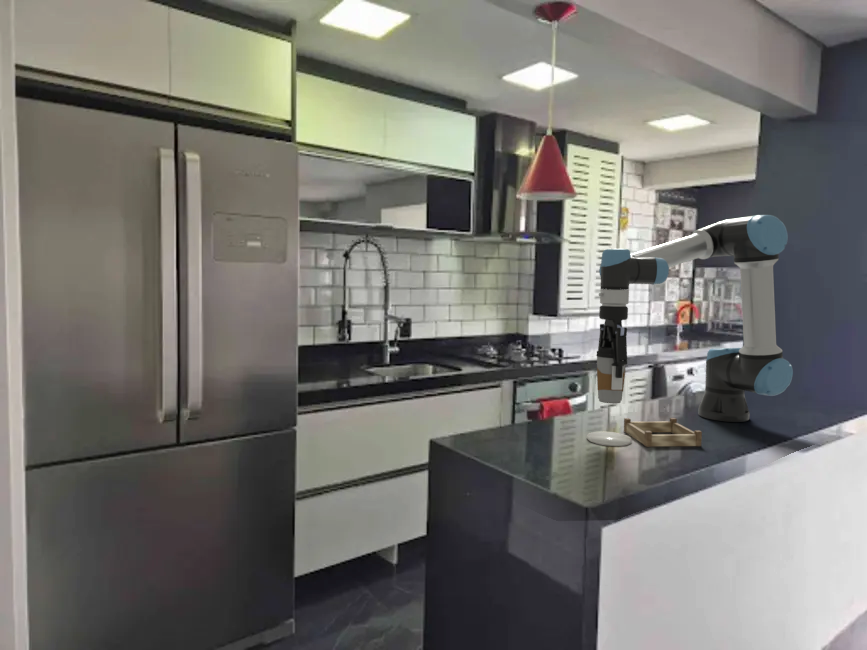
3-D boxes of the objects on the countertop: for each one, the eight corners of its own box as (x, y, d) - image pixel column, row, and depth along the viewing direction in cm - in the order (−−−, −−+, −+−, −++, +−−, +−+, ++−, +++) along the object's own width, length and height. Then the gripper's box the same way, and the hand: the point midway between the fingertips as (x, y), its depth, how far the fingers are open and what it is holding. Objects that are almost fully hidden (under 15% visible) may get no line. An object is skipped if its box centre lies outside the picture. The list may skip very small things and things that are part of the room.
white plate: (621, 433, 167) (621, 431, 166) (638, 446, 155) (638, 443, 155) (581, 434, 166) (581, 431, 166) (595, 446, 154) (595, 443, 154)
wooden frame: (673, 431, 170) (674, 417, 170) (701, 446, 155) (701, 431, 155) (623, 431, 169) (624, 418, 169) (646, 446, 154) (646, 432, 154)
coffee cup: (627, 405, 154) (629, 350, 153) (595, 403, 156) (597, 349, 155) (623, 399, 162) (625, 347, 161) (593, 397, 164) (595, 345, 163)
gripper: (587, 303, 167) (584, 379, 169) (615, 307, 146) (611, 393, 148) (612, 303, 168) (609, 379, 170) (643, 307, 147) (639, 393, 149)
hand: (610, 386), depth 159 cm, fingers closed on coffee cup, 8 cm apart
